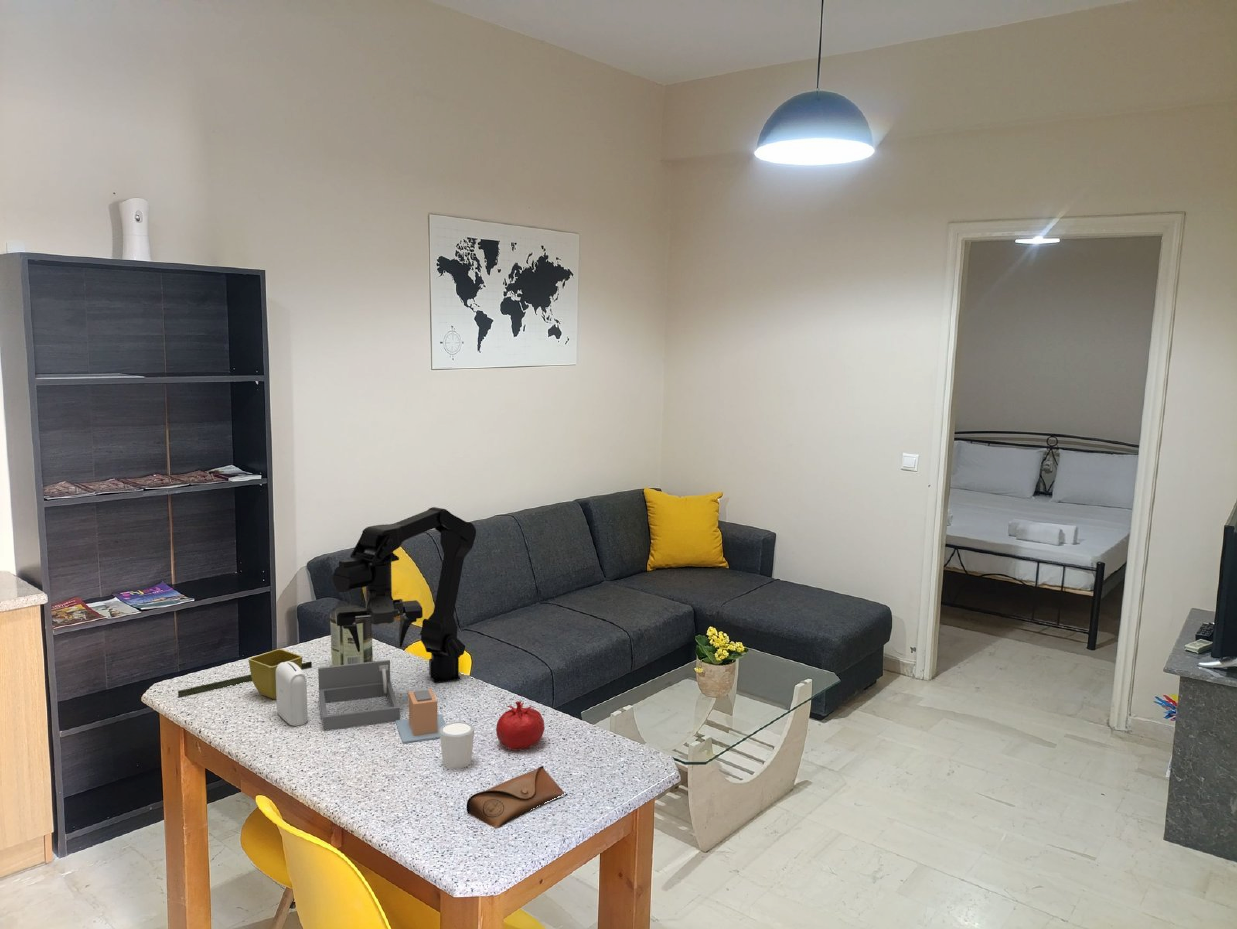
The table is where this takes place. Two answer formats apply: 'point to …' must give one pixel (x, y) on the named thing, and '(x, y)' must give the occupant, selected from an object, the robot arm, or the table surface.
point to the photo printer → (291, 693)
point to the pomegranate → (520, 727)
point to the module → (423, 712)
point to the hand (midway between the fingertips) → (379, 649)
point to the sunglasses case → (513, 797)
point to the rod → (224, 683)
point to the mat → (409, 737)
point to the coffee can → (351, 642)
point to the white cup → (456, 744)
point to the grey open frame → (356, 693)
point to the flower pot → (270, 669)
